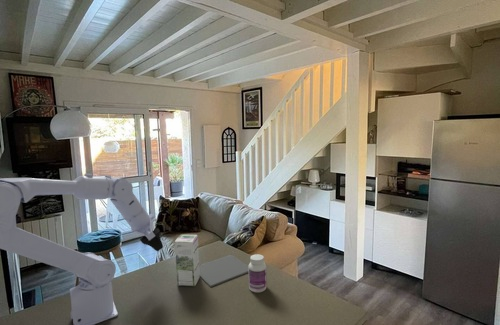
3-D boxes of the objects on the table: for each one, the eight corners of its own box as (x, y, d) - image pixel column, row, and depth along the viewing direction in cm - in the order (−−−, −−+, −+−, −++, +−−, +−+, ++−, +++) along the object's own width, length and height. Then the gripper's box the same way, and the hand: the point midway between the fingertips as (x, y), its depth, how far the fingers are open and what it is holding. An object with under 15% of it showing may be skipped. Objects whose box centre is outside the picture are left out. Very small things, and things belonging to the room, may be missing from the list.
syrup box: (200, 276, 88) (198, 233, 86) (194, 287, 82) (192, 241, 80) (183, 276, 88) (180, 233, 87) (176, 286, 82) (173, 240, 81)
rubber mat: (210, 287, 82) (210, 285, 82) (191, 268, 93) (191, 267, 93) (253, 270, 91) (253, 268, 91) (231, 255, 102) (231, 254, 102)
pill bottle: (269, 290, 79) (269, 259, 78) (252, 295, 77) (252, 262, 76) (262, 281, 84) (261, 251, 83) (246, 285, 82) (245, 254, 81)
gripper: (154, 213, 74) (175, 245, 81) (138, 195, 85) (158, 224, 92) (130, 230, 71) (155, 261, 78) (117, 208, 82) (139, 238, 89)
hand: (155, 242), depth 85 cm, fingers open, 7 cm apart
